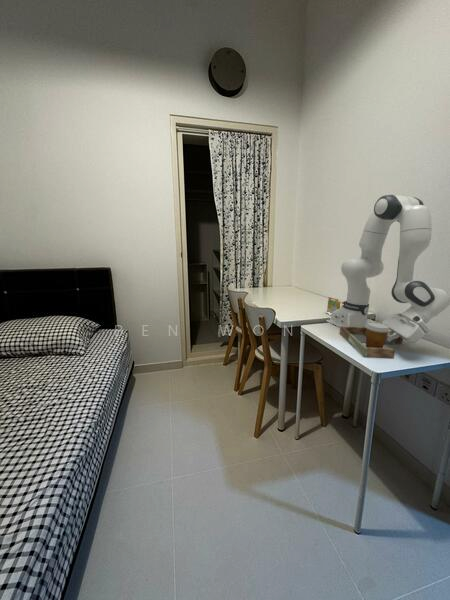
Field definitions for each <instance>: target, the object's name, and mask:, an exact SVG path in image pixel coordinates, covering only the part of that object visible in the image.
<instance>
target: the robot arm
mask: <svg viewBox="0 0 450 600" xmlns="http://www.w3.org/2000/svg"><path fill="white" fill-rule="evenodd" d="M395 222H398V223H399V248H398V249H399V250H398V251H399V252H398V259H397V269H396V270H397V271H396V279H395V282H394V284H393V286H392V287H391V293H390V294H391V297H392V298H393V300H395V301H396V302H398V303H400V304H410V307H409V308H407V309H406V310H405V311H403V312H402V313H400V312H399V313H395V314H392V315H390V316H388V317H387V318H385V319H383V321H382V322H381V323H384V324H387V325H388V326H389V329H390V331H389V332H388V334H387V337H386V340H387V341H389V342H390V341H391V340H392V339H396V338H398V337H401V338H403V341H404V340H405V341H406V342H408V343H409V344H414V343H416V342H418V341H419V340H421V339H422V338H423V337H425V335H426V334H428V333H430V332H431V331H432V330H431V328H430V327H429V326H428V324H427V323H429V322H430V320H431V319H433V318H435V317H437V316H438V315H440V314H441V313H442V312H443V311H445V310H446V309H447V308H448V307H449V306H450V294H449V293H448V292H447V291H446V290H444V289H442V288H436V287H433V286H431V285H429V284H427V283H425V282H424V281H421V280H414V271H415V263H416V261H417V259H418V257H419V256H420V255H421V254H422V253H423V252H424V251H425V250H427V248H428V247H429V246H430V243H431V240H432V233H433V231H432V230H433V229H432V226H433V225H432V216H431V212H430V208H429V207H428V206H426V205H424V202H423V200H421V199H420V198H418V197H413V196H409V195H405V194H404V195H398V194H397V195H396V194H386V195H383V196H381V197H379V198H378V199H377V201H375V204H374V206H373V211H372V212H371V213H370V214H369V217H368V218H367V221H366V223H365V226H364V228H363V230H362V234H361V237H360V238H359V243H358V246H359V248H360V250H361V255H360V257H352V258H349V259H346V260H344V262H342V264H341V268H340V269H341V274H342V275H343V276H344V277H345V279H346V282H347V295H346V300H344V301H342V302H341V305H342V306H340V308H339V309H337V310H335V311H333V312H332V314H331V315H330V317H331V318H330V317H329V318H330V320H325V321H326V322H327V323H329V324H331V325H333V324H334V325H333V326H335V325H336V327H339V328H340V326H345V327H366V326H365V325H366V324H367V322H368V314H369V307H370V304H369V302H370V296H371V289H370V287H369V286H368V283H367V279H369V278H374V277H376V276H379V275H381V274H382V272H383V271H384V267H385V266H384V262H383V261H382V255H383V254H382V252H383V247H384V245H385V242H386V238H387V236H388V233H389V231H390V228H391V226H392V225H393V223H395Z"/></svg>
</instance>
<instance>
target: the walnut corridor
mask: <svg viewBox="0 0 450 600" xmlns="http://www.w3.org/2000/svg"><path fill="white" fill-rule="evenodd" d="M339 334H340V336H341V337H343V339H345V341H347V342H348V344H349V345H351V347H353V349H355V350H356V352H358V353H359V355H361V356H362V357H363V358H373V359H375V358H376V359H377V358H378V359H395V355H396V354H395V353H396V349H395V348H387V347H383V348H371V347H366V344H364V343H361V342H360V341H359V340H358V339H357V338H355V337H354V336H353V335H352V334H357V335H365V336H366V327H345V326H340V327H339ZM393 340H394V341H396V342H397V343H399V345H401V346H402V345H403V342H404V339H403V338H401V337H398V338H396V339H393Z"/></svg>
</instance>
